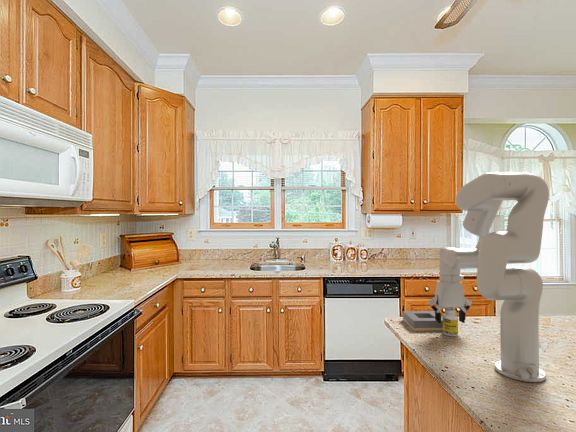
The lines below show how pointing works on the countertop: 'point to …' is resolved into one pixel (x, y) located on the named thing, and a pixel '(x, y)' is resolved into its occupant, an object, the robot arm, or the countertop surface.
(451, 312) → the supplement bottle
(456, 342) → the countertop surface
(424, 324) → the socket block
